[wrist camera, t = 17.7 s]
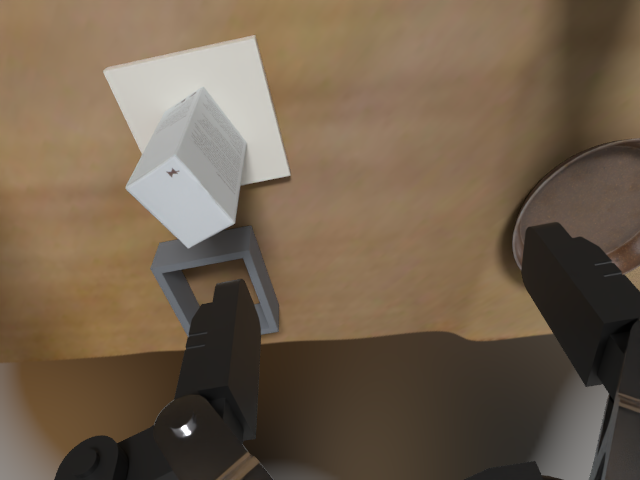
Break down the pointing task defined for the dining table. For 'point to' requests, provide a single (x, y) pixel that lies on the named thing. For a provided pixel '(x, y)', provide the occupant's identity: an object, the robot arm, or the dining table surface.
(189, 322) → the gray rectangular frame
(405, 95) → the dining table surface
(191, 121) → the skincare box
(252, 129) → the pale tile
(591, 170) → the plant saucer
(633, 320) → the robot arm
